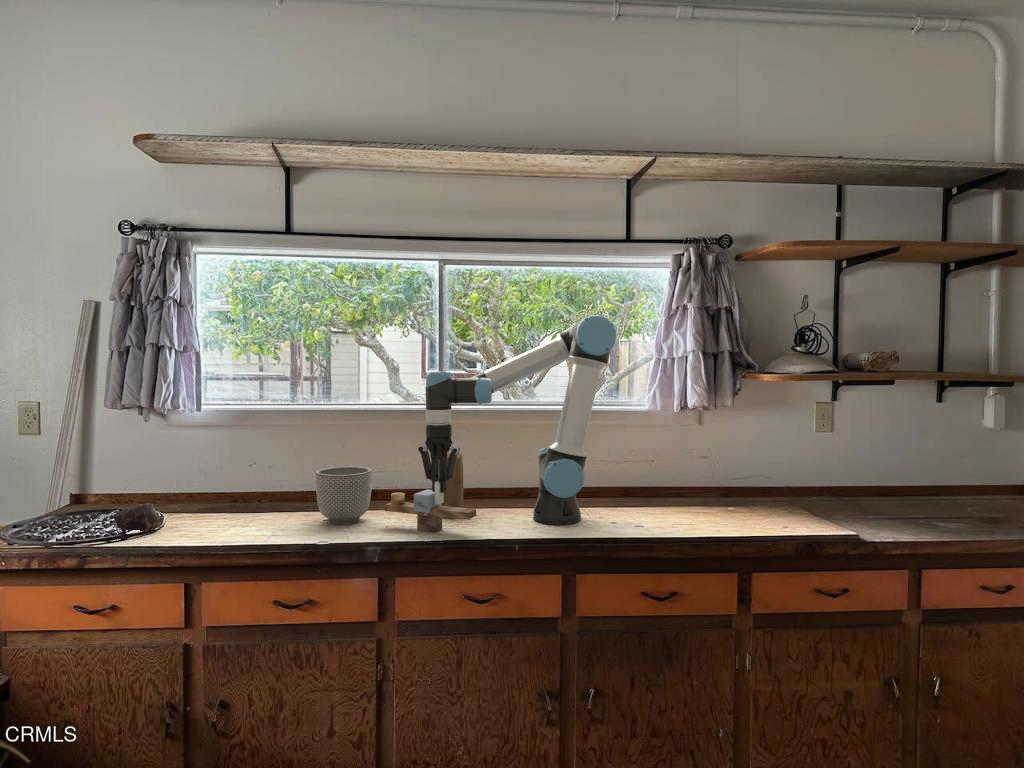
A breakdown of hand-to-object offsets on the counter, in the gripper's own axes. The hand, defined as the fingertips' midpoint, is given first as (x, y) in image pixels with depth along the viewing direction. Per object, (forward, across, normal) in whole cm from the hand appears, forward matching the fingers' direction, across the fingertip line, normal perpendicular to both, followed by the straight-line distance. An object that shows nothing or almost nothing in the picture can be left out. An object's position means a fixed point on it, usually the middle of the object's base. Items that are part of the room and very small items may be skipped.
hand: (439, 503), depth 186 cm
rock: (+8, +80, +36) cm, 88 cm away
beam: (+8, +3, 0) cm, 9 cm away
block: (+9, +6, -20) cm, 23 cm away
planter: (+8, +33, +1) cm, 34 cm away
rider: (+2, +4, 0) cm, 4 cm away
